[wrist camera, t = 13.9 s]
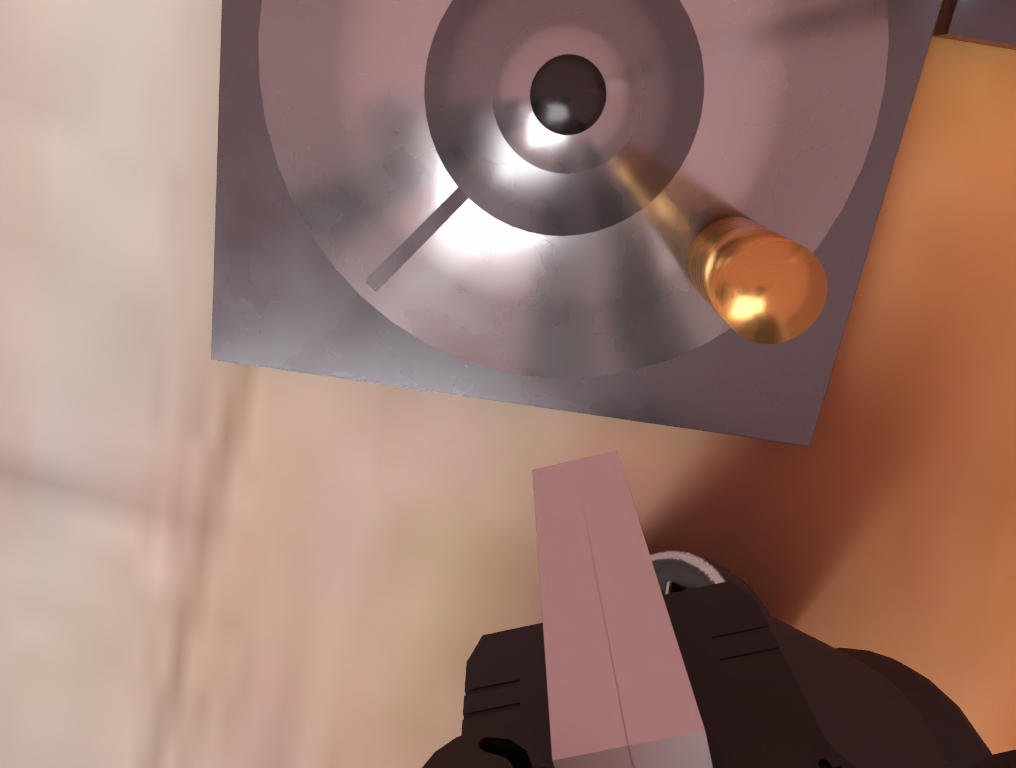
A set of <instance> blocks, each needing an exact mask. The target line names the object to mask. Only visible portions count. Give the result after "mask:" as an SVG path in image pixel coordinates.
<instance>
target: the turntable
mask: <svg viewBox="0 0 1016 768" xmlns="http://www.w3.org/2000/svg"><path fill="white" fill-rule="evenodd" d="M452 1H453V0H262V4H261V14H260V25H259V35H258V38H259V80H260V86H261V93H262V100H263V107H264V114H265V121H266V125H267V129H268V132H269V136H270V140H271V143H272V147H273V151H274V154H275V158H276V162H277V165H278V167H279V170H280V172H281V174H282V177H283V179H284V182H285V184H286V187H287V189H288V192H289V194H290V197H291V199H292V201H293V203H294V205H295V207H296V209H297V210H298V212H299V214H300V216H301V218H302V219H303V221H304V223H305V225H306V227H307V228H308V230H309V232H310V234H311V236H312V237H313V239H314V240H315V241H316V243H317V244H318V245H319V247H320V248H321V250H322V251H323V252H324V254H325V255H326V256H327V258H328V259H329V261H330V262H331V263H332V265H333V266H334V267H335V269H336V270H337V271H338V272H339V273H340V274H341V275H342V276H343V277H344V278H345V279H346V280H347V282H348V283H349V284H350V285H351V286H352V287H353V288H354V289H355V290H356V291H357V292H358V293H359V294H360V295H361V297H363V298H364V299H365V300H366V301H367V302H369V303H370V304H371V305H372V306H373V307H375V308H376V309H377V310H378V311H379V312H381V313H382V314H383V315H384V316H385V317H387V318H388V319H389V320H390V321H392V322H393V323H395V324H396V325H398V326H399V327H401V328H402V329H404V330H406V331H407V332H409V333H410V334H412V335H413V336H415V337H416V338H418V339H419V340H421V341H423V342H425V343H427V344H429V345H431V346H433V347H435V348H437V349H439V350H441V351H444V352H446V353H448V354H450V355H452V356H454V357H456V358H459V359H462V360H465V361H468V362H471V363H474V364H477V365H480V366H483V367H486V368H489V369H494V370H499V371H504V372H509V373H514V374H519V375H523V376H534V377H547V378H560V379H562V378H583V377H599V376H605V375H611V374H617V373H622V372H628V371H634V370H637V369H640V368H644V367H647V366H650V365H654V364H657V363H660V362H664V361H667V360H670V359H672V358H674V357H677V356H679V355H681V354H683V353H686V352H688V351H690V350H693V349H695V348H697V347H699V346H702V345H704V344H705V343H707V342H709V341H711V340H712V339H714V338H716V337H717V336H719V335H721V334H722V333H724V332H726V331H727V330H729V329H731V328H732V329H733V330H734V331H736V332H737V333H738V334H739V335H741V336H742V337H744V338H745V339H747V340H750V341H753V342H756V343H761V344H777V343H782V342H785V341H789V340H791V339H793V338H795V337H797V336H799V335H801V334H802V333H803V332H805V331H806V330H807V329H808V328H809V327H810V326H811V325H812V324H813V323H814V322H815V321H816V319H817V318H818V316H819V315H820V313H821V311H822V309H823V307H824V304H825V301H826V297H827V288H828V286H827V277H826V273H825V270H824V268H823V266H822V264H821V262H820V261H819V259H818V258H817V257H816V256H815V255H814V254H813V252H814V251H815V249H816V248H817V247H818V246H819V245H820V243H821V242H822V240H823V239H824V237H825V236H826V234H827V233H828V231H829V229H830V228H831V226H832V225H833V223H834V221H835V220H836V218H837V217H838V215H839V214H840V212H841V210H842V209H843V207H844V205H845V203H846V201H847V199H848V197H849V195H850V193H851V191H852V188H853V186H854V184H855V182H856V180H857V178H858V176H859V174H860V172H861V170H862V167H863V164H864V161H865V158H866V155H867V152H868V149H869V147H870V144H871V141H872V138H873V135H874V132H875V129H876V124H877V120H878V115H879V111H880V106H881V101H882V97H883V92H884V87H885V78H886V67H887V56H888V45H889V32H888V0H680V1H681V3H682V5H683V7H684V9H685V10H686V12H687V14H688V16H689V17H690V20H691V22H692V25H693V27H694V30H695V32H696V35H697V38H698V42H699V46H700V50H701V54H702V61H703V69H704V99H703V107H702V114H701V118H700V122H699V126H698V130H697V133H696V136H695V138H694V141H693V144H692V146H691V149H690V151H689V153H688V155H687V157H686V158H685V160H684V162H683V164H682V166H681V168H680V169H679V170H678V172H677V173H676V175H675V176H674V178H673V179H672V180H671V182H670V183H669V184H668V185H667V186H666V187H665V188H664V190H663V191H662V192H661V193H660V194H659V195H658V196H657V197H656V198H655V199H654V200H652V201H651V202H650V203H649V204H648V205H647V206H646V207H644V208H643V209H641V210H640V211H638V212H637V213H635V214H634V215H632V216H631V217H629V218H627V219H625V220H623V221H621V222H619V223H617V224H615V225H613V226H611V227H608V228H605V229H602V230H599V231H596V232H591V233H586V234H581V235H571V236H550V235H541V234H536V233H531V232H527V231H524V230H521V229H518V228H515V227H512V226H509V225H507V224H505V223H503V222H501V221H499V220H497V219H495V218H494V217H492V216H491V215H489V214H488V213H486V212H485V211H483V210H482V209H480V208H479V207H478V206H477V205H476V204H475V203H473V202H472V201H471V200H470V199H469V198H468V197H467V196H466V195H465V194H464V193H463V192H462V191H461V189H460V188H459V187H458V186H457V185H456V184H455V182H454V181H453V179H452V178H451V177H450V175H449V174H448V172H447V171H446V169H445V167H444V165H443V163H442V162H441V160H440V158H439V156H438V154H437V151H436V149H435V146H434V143H433V141H432V138H431V135H430V131H429V126H428V122H427V118H426V110H425V100H424V83H425V72H426V65H427V58H428V54H429V51H430V47H431V43H432V40H433V37H434V35H435V32H436V30H437V28H438V25H439V23H440V21H441V19H442V17H443V15H444V14H445V12H446V10H447V8H448V7H449V5H450V3H451V2H452Z"/></svg>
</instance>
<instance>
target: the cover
mask: <svg viewBox="0 0 1016 768" xmlns="http://www.w3.org/2000/svg"><path fill="white" fill-rule="evenodd" d="M703 99H704V69H703V61H702V54H701V50H700V46H699V42H698V38H697V35H696V32H695V30H694V27H693V25H692V22H691V20H690V17H689V16H688V14H687V12H686V10H685V9H684V7H683V5H682V3H681V1H680V0H453V1H452V2H451V3H450V5H449V7H448V8H447V10H446V12H445V14H444V15H443V17H442V19H441V21H440V23H439V25H438V28H437V30H436V32H435V35H434V37H433V40H432V43H431V47H430V51H429V54H428V58H427V65H426V72H425V83H424V100H425V110H426V118H427V122H428V126H429V131H430V135H431V138H432V141H433V143H434V146H435V149H436V151H437V154H438V156H439V158H440V160H441V162H442V163H443V165H444V167H445V169H446V171H447V172H448V174H449V175H450V177H451V178H452V179H453V181H454V182H455V184H456V185H457V186H458V187H459V188H460V189H461V191H462V192H463V193H464V194H465V195H466V196H467V197H468V198H469V199H470V200H471V201H472V202H473V203H475V204H476V205H477V206H478V207H479V208H480V209H482V210H483V211H485V212H486V213H488V214H489V215H491V216H492V217H494V218H495V219H497V220H499V221H501V222H503V223H505V224H507V225H509V226H512V227H515V228H518V229H521V230H524V231H527V232H531V233H536V234H541V235H550V236H571V235H581V234H586V233H591V232H596V231H599V230H602V229H605V228H608V227H611V226H613V225H615V224H617V223H619V222H621V221H623V220H625V219H627V218H629V217H631V216H632V215H634V214H635V213H637V212H638V211H640V210H641V209H643V208H644V207H646V206H647V205H648V204H649V203H650V202H651V201H652V200H654V199H655V198H656V197H657V196H658V195H659V194H660V193H661V192H662V191H663V190H664V188H665V187H666V186H667V185H668V184H669V183H670V182H671V180H672V179H673V178H674V176H675V175H676V173H677V172H678V170H679V169H680V168H681V166H682V164H683V162H684V160H685V158H686V157H687V155H688V153H689V151H690V149H691V146H692V144H693V141H694V138H695V136H696V133H697V130H698V126H699V122H700V118H701V114H702V107H703Z"/></svg>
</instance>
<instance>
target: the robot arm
mask: <svg viewBox="0 0 1016 768" xmlns="http://www.w3.org/2000/svg"><path fill="white" fill-rule="evenodd" d="M532 472H533V486H534V501H535V515H536V530H537V544H538V559H539V573H540V588H541V603H542V617H543V623H539V624H535V625H530V626H525V627H520V628H516V629H511V630H506V631H501V632H497V633H492V634H487V635H483V636H482V637H481V639H480V641H479V643H478V644H477V646H476V648H475V649H474V651H473V653H472V654H471V656H470V658H469V659H468V661H467V666H466V680H465V694H466V696H464V708H463V715H464V720H463V722H462V736H459V737H456V738H455V739H453V740H452V741H451V742H449V743H448V744H446V745H445V746H443V747H442V748H440V749H439V750H437V751H436V752H435V753H434V754H433V755H432V756H431V758H430V759H429V760H428V761H427V763H426V764H425V765H424V766H423V767H422V768H858V767H856V766H854V765H852V764H851V763H849V762H848V761H847V760H846V759H845V757H844V756H843V755H841V754H840V753H838V752H836V751H835V750H834V749H833V748H832V746H831V745H830V744H829V742H828V741H827V739H826V738H825V736H824V735H823V733H822V731H821V729H820V727H819V725H818V723H817V721H816V719H815V717H814V715H813V713H812V711H811V709H810V707H809V705H808V703H807V701H806V699H805V697H804V695H803V693H802V691H801V689H800V687H799V685H798V683H797V681H796V679H795V677H794V675H793V673H792V671H791V669H790V667H789V665H788V663H787V661H786V659H785V657H784V655H783V653H782V652H781V651H780V647H779V645H778V643H777V641H776V639H775V637H774V635H773V633H772V631H771V630H770V629H769V625H768V623H767V621H766V619H765V617H764V615H763V613H762V611H761V609H760V607H759V605H758V603H757V601H756V599H754V598H753V597H752V596H750V595H749V594H747V593H746V592H745V591H743V590H742V589H741V588H739V587H738V586H736V585H735V584H734V583H732V582H731V581H726V582H722V583H717V584H712V585H707V586H703V587H698V588H693V589H688V590H684V591H679V592H674V593H669V594H665V595H662V592H661V589H660V586H659V583H658V579H657V576H656V573H655V570H654V567H653V564H652V560H651V557H650V554H649V551H648V548H647V544H646V541H645V538H644V535H643V532H642V529H641V525H640V522H639V519H638V516H637V513H636V510H635V506H634V503H633V500H632V497H631V494H630V491H629V487H628V484H627V481H626V478H625V475H624V472H623V468H622V465H621V462H620V459H619V456H618V452H617V451H615V452H610V453H606V454H602V455H597V456H593V457H588V458H584V459H579V460H575V461H571V462H566V463H562V464H557V465H553V466H548V467H544V468H540V469H535V470H532ZM971 768H1016V750H1012V751H1007V752H1003V753H998V754H994V755H989V756H986V757H985V758H983V759H982V760H981V761H979V762H978V763H976V764H975V765H974V766H972V767H971Z"/></svg>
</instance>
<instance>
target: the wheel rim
mask: <svg viewBox="0 0 1016 768" xmlns="http://www.w3.org/2000/svg"><path fill="white" fill-rule="evenodd" d="M650 557H651V560H652V564H653V567H654V570H655V573H656V576H657V579H658V583H659V586H660V589H661V592H662V595H665V594H669V593H674V592H679V591H684V590H688V589H693V588H698V587H703V586H707V585H712V584H717V583H722V582H726V581H731V582H732V583H734V584H735V585H736V586H738V587H739V588H741V589H742V590H743V591H745V592H746V593H747V594H749V595H750V596H752V597H753V598H754V599H756V601H757V603H758V605H759V607H760V609H761V611H762V613H763V615H764V617H765V619H766V621H767V623H768V625H769V629H770V630H771V631H772V633H773V635H774V637H775V639H776V641H777V643H778V645H779V647H780V651H781V652H782V653H783V655H784V657H785V659H786V661H787V663H788V665H789V667H790V669H791V671H792V673H793V675H794V677H795V679H796V681H797V683H798V685H799V687H800V689H801V691H802V693H803V695H804V697H805V699H806V701H807V703H808V705H809V707H810V709H811V711H812V713H813V715H814V717H815V719H816V721H817V723H818V725H819V727H820V729H821V731H822V733H823V735H824V736H825V738H826V739H827V741H828V742H829V744H830V745H831V746H832V748H833V749H834V750H835V751H836V752H838V753H840V754H841V755H843V756H844V757H845V759H846V760H847V761H848V762H849V763H851V764H852V765H854V766H856V767H858V768H971V767H972V766H974V765H975V764H976V763H978V762H979V761H981V760H982V759H983V758H985V757H986V756H989V755H992V753H991V751H990V750H989V749H988V747H987V746H986V744H985V743H984V742H983V740H982V739H981V737H980V736H979V735H978V733H977V732H976V730H975V729H974V728H973V726H972V725H971V723H970V722H969V720H968V719H967V718H966V716H965V715H964V713H963V712H962V711H961V709H960V708H959V706H957V705H956V704H955V703H954V702H953V701H952V700H951V699H950V698H949V697H948V696H946V695H945V694H944V693H943V692H942V691H941V690H940V689H939V688H938V687H937V686H935V685H934V684H933V683H932V682H931V681H930V680H929V679H927V678H926V677H924V676H922V675H921V674H919V673H917V672H916V671H914V670H912V669H911V668H909V667H907V666H905V665H904V664H902V663H900V662H898V661H896V660H894V659H892V658H889V657H886V656H883V655H880V654H877V653H874V652H871V651H866V650H857V649H848V648H833V647H831V646H829V645H827V644H825V643H823V642H821V641H819V640H817V639H815V638H813V637H811V636H809V635H807V634H805V633H803V632H801V631H799V630H797V629H795V628H794V627H792V626H790V625H788V624H786V623H784V622H782V621H780V620H778V619H776V618H774V617H772V616H771V615H770V613H769V612H768V610H767V609H766V607H765V606H764V604H763V603H762V602H761V600H760V599H759V597H758V596H757V595H756V593H755V592H754V591H753V590H752V589H751V588H750V587H749V586H748V585H747V584H746V583H745V582H744V581H742V580H741V579H739V578H737V577H736V576H735V575H733V574H732V573H731V572H730V571H728V570H726V569H724V568H722V567H720V566H718V565H716V564H714V563H713V562H711V561H709V560H707V559H705V558H703V557H701V556H698V555H695V554H692V553H689V552H686V551H680V550H666V551H661V552H656V553H652V554H650Z"/></svg>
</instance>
